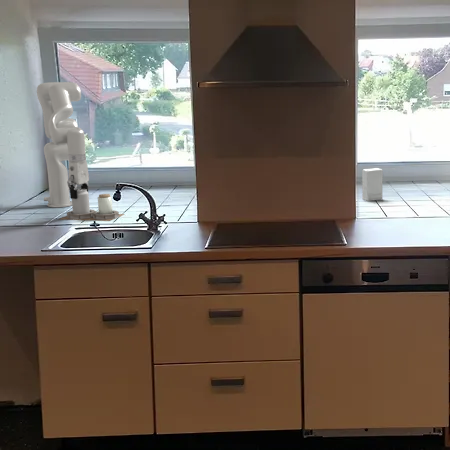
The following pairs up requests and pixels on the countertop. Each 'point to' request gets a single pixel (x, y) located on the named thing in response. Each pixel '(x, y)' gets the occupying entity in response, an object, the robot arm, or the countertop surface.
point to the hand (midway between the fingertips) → (79, 196)
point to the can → (81, 202)
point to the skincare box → (372, 184)
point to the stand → (92, 216)
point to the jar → (105, 204)
